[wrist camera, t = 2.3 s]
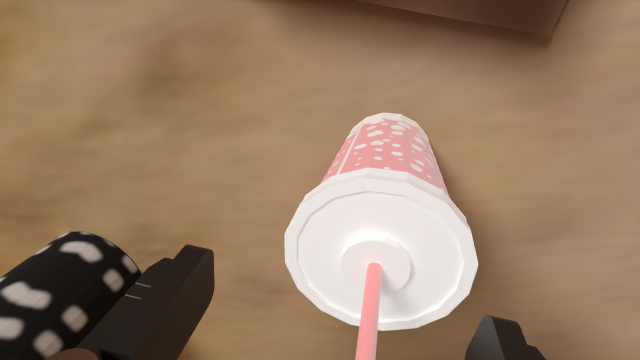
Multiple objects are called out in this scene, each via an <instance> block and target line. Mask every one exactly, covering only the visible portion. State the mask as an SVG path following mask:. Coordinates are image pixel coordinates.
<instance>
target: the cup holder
mask: <svg viewBox="0 0 640 360" xmlns="http://www.w3.org/2000/svg"><path fill="white" fill-rule="evenodd" d="M354 1H360V2H365V3H370V4H376V5H381V6H387V7H392V8H398V9H403V10H408V11H414V12H419V13H425V14H430V15H435V16H441V17H446V18H452V19H457V20H463V21H468V22H473V23H479V24H484V25H490V26H495V27H500V28H506V29H511V30H517V31H522V32H527V33H533V34H538V35H544V36H549V37H550V36H551V34H552V32H553V29H554V27H555V25H556V23H557V21H558V18H559V16H560V14H561V12H562V9H563V7H564V5H565V3H566V1H567V0H354Z"/></svg>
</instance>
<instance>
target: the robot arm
mask: <svg viewBox="0 0 640 360" xmlns="http://www.w3.org/2000/svg"><path fill="white" fill-rule="evenodd" d="M213 293H214V254H213V251H212V250H210V249H206V248H202V247H197V246H193V245H189V244H188V245H186V246H184V247H183V248H182V250H181V251H180V252H179V253H178V254H177V256H176V257H175V258H174V259H169V258H164V259H162V260H160V261H159V262H157V263H155V264H154V265H152V266H150V267H149V268H147V270H146V271H145V272H144V273H143V274H142V275H141V276H140V277H139V278H138V280H137V281H136V283H135V285H134V284H133V285H132V286H131V287H130V288H129V290H128V291H127V292H126V293H125V296H122V297H121V298H120V300H119V301H118V302H117V303H116V304H115V305H114V306H113V307H112V308H111V310H110V311H109V312H108V313H107V314H106V315H105V316H104V317H103V318H102V320H101V321H100V322H99V323H98V324H97V325H96V326H95V327H94V328H93V330H92V331H91V332H90V333H89V334H88V335H87V336H86V337H85V338H84V340H83V341H82V342H81V343H80V344H79V345H78V346H76V347H75V348H74V349H68V350H64V351H61V352H58V353H56V354H54V355H52V356H50V357H48V358H46V359H45V360H177V358H178V357H179V355H180V353H181V352H182V350H183V348H184V347H185V345H186V343H187V342H188V340H189V338H190V337H191V335H192V333H193V331H194V330H195V328H196V326H197V325H198V323H199V321H200V320H201V318H202V316H203V315H204V313H205V311H206V310H207V308H208V306H209V304H210V302H211V299H212V296H213ZM465 360H546V359H545V358H544V357H543V355H542V354H541V353H540V351H539V350H538V349H537V348H536V347H534V346H529V345H527V343H526V341H525V338H524V335H523V333H522V330H521V328H520V326H519V324H518V323H517V322H515V321H511V320H506V319H502V318H498V317H494V316H489V315H486V316H485V317H484V318H483V319H482V321H481V323H480V325H479V327H478V329H477V331H476V333H475V335H474V337H473V338H472V340H471V342H470V344H469V346H468V348H467V351H466V354H465Z"/></svg>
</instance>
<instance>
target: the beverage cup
mask: <svg viewBox="0 0 640 360" xmlns="http://www.w3.org/2000/svg"><path fill="white" fill-rule="evenodd" d="M285 263H286V265H287V267H288V269H289V271H290V273H291V276H292V278H293V280H294V282H295V284H296V286H297V288H298V289H299V290H300V291H301V292H302V293H303V294H304V295H305V296H306V297H307V298H308V299H309V300H311V301H312V302H313V303H314V304H315V305H316V306H317V307H318V308H319V309H320V310H322V311H324V312H326V313H328V314H330V315H332V316H334V317H336V318H338V319H340V320H342V321H344V322H346V323H348V324H351V325H356V326H360V327H359V334H358V342H357V350H356V358H355V360H375V359H376V345H377V332H378V330H381V331H386V330H399V329H412V328H418V327H420V326H423V325H425V324H428V323H430V322H433V321H435V320H438V319H440V318H442V317H445V316H447V315H448V314H449V313H450V312H451V311H452V310H453V309H454V308H455V307H456V306H457V305H458V304H459V303H460V302H461V301H462V300H463V299H464V298H465V297H466V296H467V295H469V293H470V290H471V286H472V283H473V280H474V277H475V274H476V271H477V268H478V260H477V256H476V251H475V247H474V242H473V238H472V234H471V230H470V227H469V226H468V224H467V220H466V217H465V216H464V215H463V214H462V212H461V211H460V210H459V209H458V208H457V206H456V205H455V204H454V203H453V202H452V200H451V199H450V197H449V194H448V192H447V189H446V186H445V184H444V181H443V178H442V175H441V173H440V170H439V167H438V165H437V162H436V159H435V156H434V154H433V151H432V148H431V146H430V143H429V140H428V137H427V135H426V134H425V133H424V131H423V130H422V129H421V128H420V126H419V125H418V124H417V123H416V122H414V121H413V120H411V119H409V118H407V117H405V116H403V115H401V114H392V113H380V114H377V115H373V116H370V117H366V118H365V119H364V120H362V121H361V122H360V123H359V124H357V125H356V126H355V127H354V128H353V129H352V131H351V132H350V134H349V136H348V137H347V139H346V141H345V143H344V144H343V146H342V148H341V149H340V151H339V153H338V155H337V156H336V158H335V160H334V162H333V163H332V165H331V167H330V168H329V170H328V172H327V174H326V175H325V177H324V179H323V180H322V182H321V184H320V185H319V186H318V187H316V188H315V189H313V190H312V191H311V192H309V193H308V194H307V195H305V197H304V199H303V201H302V202H301V203H300V205H299V207H298V209H297V211H296V213H295V215H294V217H293V219H292V221H291V223H290V225H289V226H288V228H287V230H286V232H285Z"/></svg>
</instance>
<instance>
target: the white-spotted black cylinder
mask: <svg viewBox="0 0 640 360" xmlns="http://www.w3.org/2000/svg"><path fill="white" fill-rule="evenodd" d="M140 276H141V274H140V272H139V270H138V268H137V267H136V266H135V264H134V263H133V261H132V260H131V259H130V258H129V257H128V256H127V255H126V254H125V253H124V252H123V251H121V250H120V249H119V248H118V247H116V246H115V245H113V244H112V243H110V242H109V241H107V240H105V239H103V238H101V237H99V236H96V235H93V234H90V233H85V232H68V233H65V234H63V235H61V236H59V237H58V238H56V239H55V240H54V241H52V242H51V243H49V244H48V245H47V246H45V247H44V248H42V249H41V250H39V251H38V252H37V253H35V254H34V255H32V256H31V257H29V258H28V259H27V260H25V261H24V262H22V263H21V264H19V265H18V266H17V267H15V268H14V269H12V270H11V271H9V272H8V273H7V274H5V275H4V276H2V277H1V278H0V360H45V359H46V358H48V357H50V356H52V355H54V354H56V353H58V352H61V351H64V350H68V349H74V348H75V347H76V346H78V345H79V344H80V343H81V342H82V341H83V340H84V338H85V337H86V336H87V335H88V334H89V333H90V332H91V331H92V330H93V328H94V327H95V326H96V325H97V324H98V323H99V322H100V321H101V320H102V318H103V317H104V316H105V315H106V314H107V313H108V312H109V311H110V310H111V308H112V307H113V306H114V305H115V304H116V303H117V302H118V301H119V300H120V298H121V297H122V296H125V293H126V292H127V291H128V290H129V288H130V287H131V286H132V285H133V284H134V285H135V283H136V281H137V280H138V278H139V277H140Z"/></svg>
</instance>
